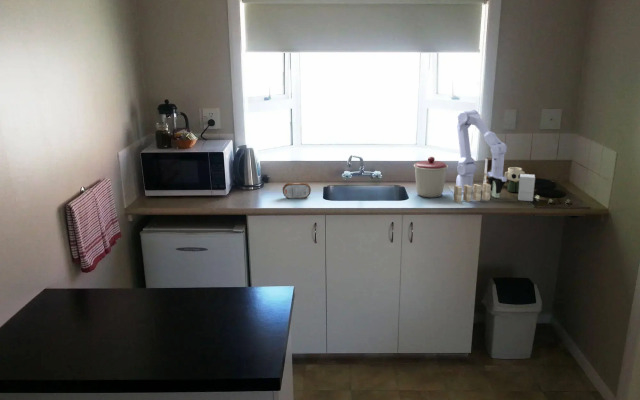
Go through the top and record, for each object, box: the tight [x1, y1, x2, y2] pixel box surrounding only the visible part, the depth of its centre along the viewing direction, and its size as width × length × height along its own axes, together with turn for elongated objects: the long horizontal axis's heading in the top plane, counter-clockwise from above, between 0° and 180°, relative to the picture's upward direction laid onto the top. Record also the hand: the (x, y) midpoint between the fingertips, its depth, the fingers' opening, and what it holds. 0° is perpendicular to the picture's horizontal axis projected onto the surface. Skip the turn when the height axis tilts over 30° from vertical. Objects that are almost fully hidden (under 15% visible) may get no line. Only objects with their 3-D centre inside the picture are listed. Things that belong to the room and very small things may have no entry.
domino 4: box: [481, 183, 492, 201], centre depth 270 cm, size 4×2×8 cm, turn 14°
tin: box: [282, 182, 312, 199], centre depth 276 cm, size 15×3×8 cm, turn 94°
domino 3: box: [471, 183, 482, 202], centre depth 269 cm, size 4×2×8 cm, turn 15°
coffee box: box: [482, 157, 493, 185], centre depth 295 cm, size 9×6×16 cm
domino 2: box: [462, 185, 473, 203], centre depth 267 cm, size 4×2×8 cm, turn 15°
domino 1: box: [453, 185, 463, 204], centre depth 266 cm, size 4×2×8 cm, turn 15°
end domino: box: [491, 181, 501, 198], centre depth 271 cm, size 4×2×8 cm, turn 9°
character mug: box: [504, 166, 526, 193], centre depth 283 cm, size 11×7×13 cm, turn 93°
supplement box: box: [517, 173, 536, 202], centre depth 268 cm, size 7×7×13 cm
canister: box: [413, 156, 449, 198], centre depth 277 cm, size 18×18×21 cm
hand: (495, 191), depth 271 cm, fingers closed on end domino, 4 cm apart
